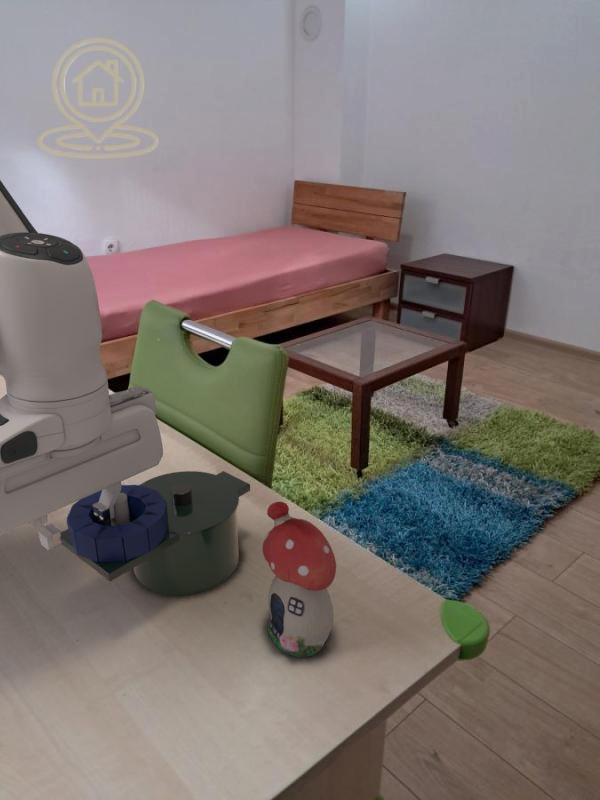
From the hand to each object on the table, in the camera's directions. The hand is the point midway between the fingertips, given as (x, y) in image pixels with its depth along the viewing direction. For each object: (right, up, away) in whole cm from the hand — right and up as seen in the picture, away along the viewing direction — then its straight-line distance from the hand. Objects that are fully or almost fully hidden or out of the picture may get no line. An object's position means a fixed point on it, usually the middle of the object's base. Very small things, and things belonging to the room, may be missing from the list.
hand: (79, 531), depth 66 cm
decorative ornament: (+23, -12, +3) cm, 26 cm away
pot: (+7, -7, +12) cm, 16 cm away
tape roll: (+3, -1, +4) cm, 5 cm away
